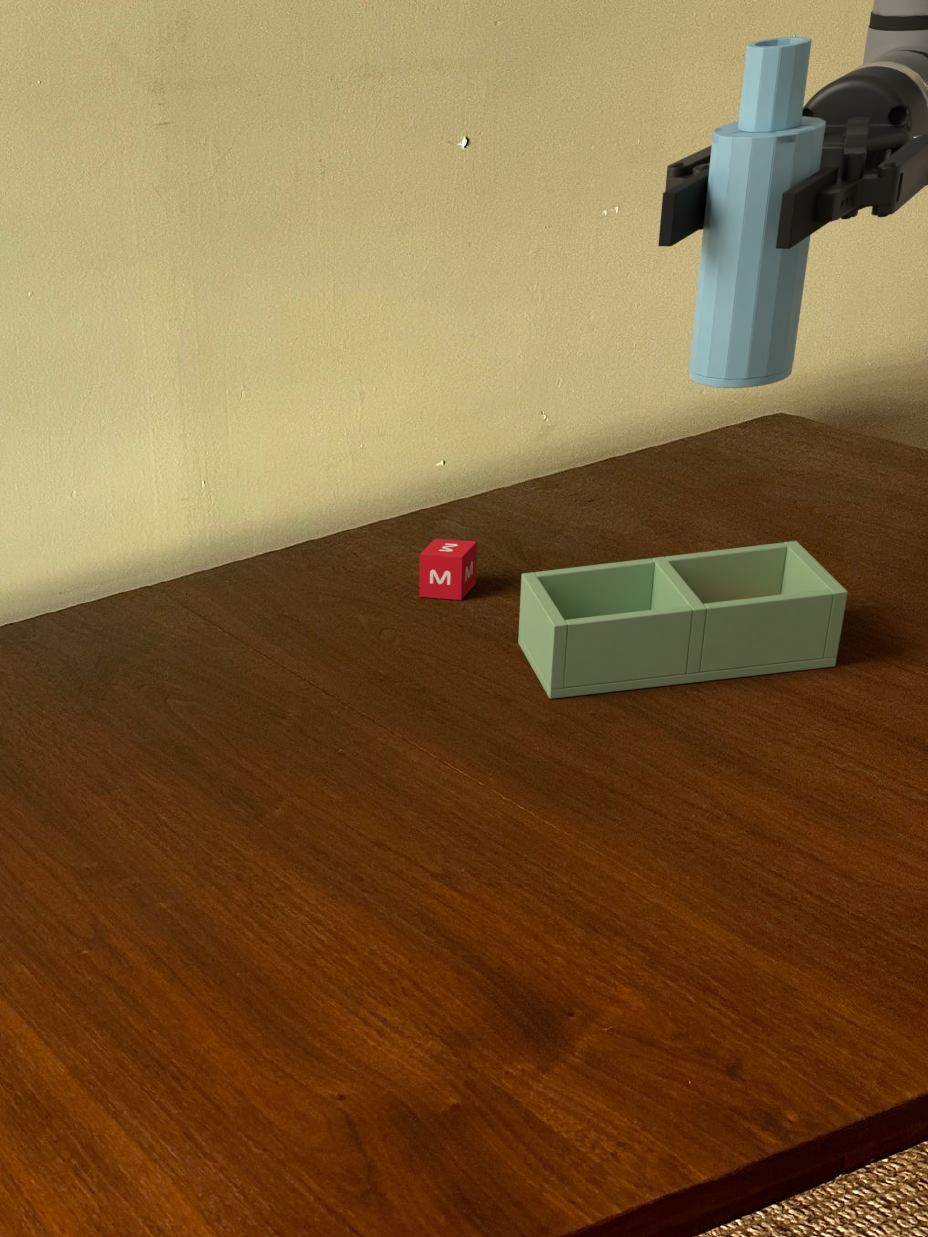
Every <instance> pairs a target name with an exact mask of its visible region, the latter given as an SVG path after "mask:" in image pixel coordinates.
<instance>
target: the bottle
mask: <svg viewBox="0 0 928 1237" xmlns="http://www.w3.org/2000/svg"><path fill="white" fill-rule="evenodd" d="M811 49H812V38H810V37H806V36H784V37H774V38H765V39H761V40H756V41H752V42H750V43H748V44H746V49H745V58H744V68H743V76H742V85H741V95H740V105H739V113H738V121H734V122H730V123H725V124H723V125H721V126H719V127H716V128H714V130H713V132H712V139H711V145H712V148H711V158H710V168H709V178H708V187H707V197H706V207H705V217H704V227H703V229H702V238H701V248H700V257H699V266H698V267H699V268H698V277H697V280H698V281H697V287H696V298H695V306H694V317H693V326H692V337H691V347H690V355H689V356H690V357H689V365H688V366H689V372H688V377H689V379H690V380H691V382H694V383H695V384H698V385H701V386H705V387H710V388H721V389H741V388H742V389H745V388H754V387H755V388H756V387H761V386H767V385H771V384H774V383H778V382H781V381H783V380H785V379H788V378H789V376H791V375H792V372H793V366H794V361H795V353H796V348H797V338H798V333H799V332H798V331H799V323H800V318H801V310H802V301H803V295H804V288H805V279H806V273H807V264H808V258H809V251H810V243H811V236H812V234H811V235H810V236H808V237H807V238H805V239H804V240H802V241H801V242H799V243H798V244H796V245H795V246H793V247H792V248H790V249H776V242H777V234H778V226H779V218H780V210H781V202H782V194H783V193H784V192H785V191H787V190H789V189H790V188H792V187H794V186H795V185H797V184H798V183H800V182H802V181H803V180H805V179H807V178H808V177H810V176H811V175H813V174H815V173H816V172H818V171H819V170H820V162H821V155H822V147H823V140H824V133H825V125H826V121H824V120H822V119H819V118H814V117H805V116H804V117H803V116H802V112H803V107H804V105H805V97H806V96H805V95H806V88H807V80H808V72H809V65H810V57H811Z"/></svg>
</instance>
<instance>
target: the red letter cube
mask: <svg viewBox="0 0 928 1237" xmlns="http://www.w3.org/2000/svg"><path fill="white" fill-rule="evenodd" d="M477 547H478V541H476V540H460V539H446V538H445V539H444V538H435V539H433V540H432V541H431V542H430V543H429V544H428V545H427V546H426V547H425V549H423V550H422V552H421V553H420V554H419V598H429V599H440V600H441V599H442V600H455V601H462V600H463V599H464V598H465V596H467V595H468V593H469V592H470V591H471V590H472V589H473V588H474V587H475V585H477V584H476V583H477V558H478V556H477V554H478V548H477Z"/></svg>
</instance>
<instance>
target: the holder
mask: <svg viewBox="0 0 928 1237" xmlns="http://www.w3.org/2000/svg"><path fill="white" fill-rule="evenodd" d="M519 597H520V599H519V617H518V618H519V620H518V641H517V643H518V645H519V647H520V649H521V651H522V652H523V654H524V656H525V658H526V659H527V662H528V663H529V665H530V667H531V669H532V670H533V672H534V673H535V674H534V675H535V676H536V677H537V679H538V680H539V682H540V685H541V686H542V688H543V690H544V691H545V693H546V696H548V698H549V699H551V700H553V699H560V698H561V699H563V698H570V697H579V696H587V695H596V694H597V695H598V694H605V693H613V692H614V693H615V692H622V691H632V690H639V689H648V688H656V687H657V688H658V687H665V686H666V687H667V686H675V685H685V684H692V683H701V682H709V681H720V680H727V679H737V678H744V677H745V678H746V677H753V676H762V675H772V674H778V673H779V674H780V673H789V672H797V671H806V670H815V669H823V668H824V669H825V668H832V667H836V664H837V657H838V653H839V646H840V640H841V634H842V628H843V622H844V617H845V611H846V604H847V599H848V590H847V589H846V588H845V587H843V585H842V584H841V583H839V581H838V580H836V578H835V577H834V576H833V575H831V573H829V571H828V570H826V568H824V566H823V565H822V564H820V563H819V561H817V560H816V559H815V558H814V557H813V556H812V555H811V554H810V553H809V552H808V551H807V550H806V549H805V548H804V547H803V546H802V545H801V544H800V543H799V542H798V541H797V540H790V541H784V542H776V543H767V544H758V545H752V546H743V547H742V546H741V547H735V548H734V547H733V548H726V549H717V550H709V551H702V552H699V551H698V552H692V553H684V554H683V553H682V554H676V555H674V554H673V555H666V556H657V557H652V558H651V557H650V558H642V559H641V558H640V559H632V560H625V561H617V562H608V563H600V564H590V565H583V566H575V567H565V568H557V569H549V570H542V571H535V572H533V571H531V572H524V573H521V579H520V596H519Z"/></svg>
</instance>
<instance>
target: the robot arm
mask: <svg viewBox="0 0 928 1237" xmlns="http://www.w3.org/2000/svg"><path fill="white" fill-rule="evenodd" d="M802 116H803V117H804V116H805V117H814V118H819V119H822V120H824V121H826V125H825V133H824V140H823V147H822V155H821V162H820V170H819V171H818V172H816V173H815V174H813V175H811V176H810V177H808V178H807V179H805V180H803V181H802V182H800V183H798V184H797V185H795V186H794V187H792V188H790V189H789V190H787V191H785V192H784V193H783V194H782V202H781V210H780V218H779V226H778V234H777V242H776V249H790V248H792V247H793V246H795V245H796V244H798V243H799V242H801V241H802V240H804V239H805V238H807V237H808V236H810V235H811V236H812V235H813V234H815V232H818V231H819V230H820V229H822V228H823V227H825V226H826V225H827V224H829V223H831V222H835V221H838V220H840V219H841V220H850V219H851V218H856V217H857V216H858V214H859V211H861V210H863V209H866V208H870V207H871V212H870V214H871V216H876V217H878V218H886V217H889V216H890V215H893V214H895V213H896V212H898V211H899V209H901V208H902V207H903V206H904V205H905V204H907V202H909V201H911V199H912V198H913V197H915V196H916V195H917V194H918V193H919V192H920V191H921V190H923V189H924V188H925V187H927V186H928V0H873V5H872V10H871V11H870V17H869V25H868V26H867V32H866V39H865V46H864V54H863V61H862V64H860V65H859V66H858V67H856V68H855V69H852V70H851V71H849V72H848V73H846V74H844V75H842V76H840V77H838V78H837V79H835V80H833V81H831V82H829V83H827V84H826V85H824V86H823V87H822V88H820V89H819V90H818V91H817V92H815V93H814V94H813V95H812V96H811V98H809V99H808V101H807V102H806V103H805V104H804V105H803V112H802ZM711 148H712V144H710V145H709V146H707V147H704V148H703V149H700V150H697V151H696V152H694V153H692V154H689V155H687V156H685V157H682V158H681V159H679V160H677V161H674V162H673V163H670V164H668V165H667V166H666V175H665V177H666V178H665V188H664V191H663V192H662V200H661V209H660V210H661V212H660V221H659V222H660V224H659V233H658V244H657V246H658V247H673V246H674V245H676V244H678V243H680V242H682V241H683V240H685V239H686V238H688V237H689V236H691V235H692V234H695V233H696V232H698V231H701V230H702V231H703V227H704V217H705V207H706V197H707V187H708V178H709V168H710V158H711ZM811 236H810V237H811Z"/></svg>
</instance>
